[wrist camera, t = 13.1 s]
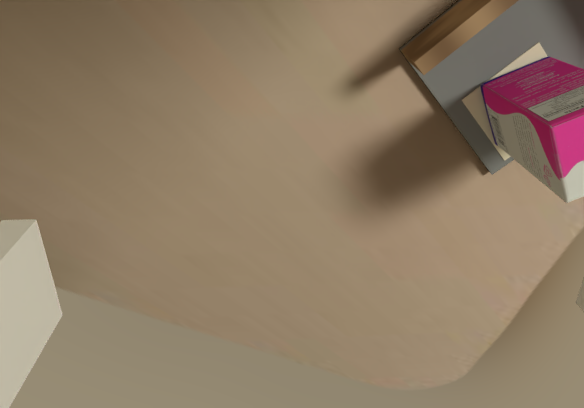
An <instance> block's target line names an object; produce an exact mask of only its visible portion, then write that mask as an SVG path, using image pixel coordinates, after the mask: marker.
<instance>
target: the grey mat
mask: <svg viewBox="0 0 584 408" xmlns="http://www.w3.org/2000/svg"><path fill="white" fill-rule="evenodd" d="M460 1H462V0H460ZM460 1H458V2H457V3H456V4H455V5H457V4H458V3H459V2H460ZM455 5H454V4H453V5H452V7H451V8H450V9H449V8H448V10H446V12H443V14H441V16H440V17H438V18H437V20H438V19H440V18H441V17H442V16H443V15H444V14H446V13H447V12H448V11H449V10H451V9H452V8H453V7H454V6H455ZM437 20H434V21H432V22H431V24H429V25H428V26H426V28H424V29H423V30H422V31H420V32H419V33H418V34H417V35H416V36H414V37H413V38H412V39H411V40H409V41H408V42H407V43H406V44H404V45H403V46H402V47H401V48H400V50H402V49H403V48H404V47H405V46H407V45H408V44H409V43H410V42H412V41H413V40H414V39H415V38H416V37H418V36H419V35H420V34H421V33H422V32H424V31H425V30H426V29H427V28H429V27H430V26H431V25H432V24H433V23H435V22H436V21H437ZM402 54H403V53H402ZM548 56H550V57H552V58H555V59H558V60H560V61H563V62H566V63H568V64H571V65H574V66H576V67H579V68H582V69H584V0H519V1H517V2H516V3H515V4H513V5H512V6H511V7H510V8H508V9H507V10H506V11H505V12H503V13H502V14H501V15H500V16H498V17H497V18H496V19H494V20H493V21H492V22H491V23H489V24H488V25H487V26H486V27H484V28H483V29H482V30H481V31H479V32H478V33H477V34H476V35H474V36H473V37H472V38H470V39H469V40H468V41H467V42H465V43H464V44H463V45H462V46H460V47H459V48H458V49H457V50H455V51H454V52H453V53H452V54H450V55H449V56H448V57H446V58H445V59H444V60H443V61H441V62H440V63H439V64H438V65H436V66H435V67H434V68H433V69H431V70H430V71H429V72H427V73H426V74H425V75H423V74H422V73H421V72H420V71H419V70H417V69H416V68H415V67H414V66H413V65H412V64H411V63H410V62H409V61H408V62H409V63H410V65H411V66H412V67H413V69H414V70H415V71H416V73H417V74H418V75H419V77H420V78H421V79H422V81H423V82H424V84H425V85H426V86H427V88H428V89H429V90H430V92H431V93H432V94H433V96H434V97H435V98H436V100H437V101H438V103H439V104H440V105H441V107H442V108H443V109H444V111H445V112H446V113H447V115H448V116H449V117H450V119H451V120H452V122H453V123H454V124H455V126H456V127H457V128H458V130H459V131H460V132H461V134H462V135H463V136H464V138H465V139H466V141H467V142H468V143H469V145H470V146H471V147H472V149H473V150H474V151H475V153H476V154H477V156H478V157H479V158H480V160H481V161H482V162H483V164H484V165H485V166H486V168H487V169H488V170H489V172H490V173H491V174H494V173H495V172H497V171H498V170H500V169H501V168H502V167H504V166H505V165H507V164H508V163H510V162H511V161H513V160H514V159H513V158H512V157H511V156H510V155H508V154H507V153H506V152H505V151H504V150H502V149H501V148H500V147H499V146H497V145H496V144H495V142H494V138H493V134H492V131H491V127H490V123H489V120H488V116H487V112H486V108H485V104H484V100H483V96H482V92H481V87H480V85H481V84H482V83H485V82H487V81H489V80H492V79H494V78H497V77H499V76H501V75H504V74H506V73H509V72H511V71H514V70H516V69H519V68H521V67H523V66H526V65H528V64H531V63H533V62H536V61H538V60H541V59H543V58H545V57H548Z"/></svg>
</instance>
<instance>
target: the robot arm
mask: <svg viewBox="0 0 584 408" xmlns="http://www.w3.org/2000/svg"><path fill="white" fill-rule="evenodd" d="M576 303H577V304H578V305H579V307H580V308H581V309H582V310H583V312H584V278H583V282H582V285H581V288H580V291H579V294H578V297H577V301H576ZM62 315H63V314H62V311H61V307H60V304H59V300H58V296H57V293H56V289H55V285H54V282H53V278H52V274H51V271H50V267H49V264H48V260H47V256H46V253H45V249H44V245H43V242H42V238H41V235H40V231H39V227H38V224H37V220H2V221H1V222H0V408H9V407H10V405H11V403H12V402H13V400H14V398H15V396H16V395H17V393H18V391H19V390H20V388H21V386H22V384H23V383H24V381H25V379H26V377H27V376H28V374H29V372H30V370H31V369H32V367H33V365H34V364H35V362H36V360H37V358H38V356H39V355H40V353H41V351H42V350H43V348H44V346H45V344H46V343H47V341H48V339H49V337H50V336H51V334H52V332H53V331H54V329H55V327H56V325H57V324H58V322H59V320H60V318H61V317H62Z"/></svg>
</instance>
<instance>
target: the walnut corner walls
mask: <svg viewBox="0 0 584 408" xmlns="http://www.w3.org/2000/svg"><path fill="white" fill-rule="evenodd" d="M458 1H460V0H458ZM458 1H457V2H458ZM517 1H519V0H462V1H460V2H459V3H458V4H457V5H455V4H456V3H457V2H456V3H454V5H455V6H454V7H453V8H452V9H451V10H449V11H448V12H447V13H446V14H444V15H443V16H442V17H441V18H440V19H438V20H437V18H438V17H437V18H436V19H435V20H437V21H436V22H435V23H433V24H432V25H431V26H430V27H429V28H427V29H426V30H425V31H424V32H422V33H421V34H420V35H419V36H418V37H416V38H415V39H414V40H413V41H412V42H410V43H409V44H408V45H407V46H405V47H404V48H403V49H402V50H400V49H399V50H400V51H401V52H402V53H403V55H404V56H405V58H406V59H407V60H408V61H409V62H410V63H411V64H412V65H413V66H414V67H415V68H416V69H417V70H419V71H420V72H421V73H422V74H423V75H425V74H426V73H427V72H429V71H430V70H431V69H433V68H434V67H435V66H436V65H438V64H439V63H440V62H441V61H443V60H444V59H445V58H446V57H448V56H449V55H450V54H452V53H453V52H454V51H455V50H457V49H458V48H459V47H460V46H462V45H463V44H464V43H465V42H467V41H468V40H469V39H470V38H472V37H473V36H474V35H476V34H477V33H478V32H479V31H481V30H482V29H483V28H484V27H486V26H487V25H488V24H489V23H491V22H492V21H493V20H494V19H496V18H497V17H498V16H500V15H501V14H502V13H503V12H505V11H506V10H507V9H508V8H510V7H511V6H512V5H513V4H515V3H516V2H517ZM451 7H452V6H451ZM451 7H449V9H450V8H451ZM447 10H448V9H447ZM445 12H446V11H445ZM442 14H443V13H442ZM440 16H441V15H440ZM440 16H439V17H440ZM430 24H431V23H430ZM425 28H426V27H425ZM421 31H422V30H421ZM415 36H416V35H415Z"/></svg>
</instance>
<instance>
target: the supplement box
mask: <svg viewBox="0 0 584 408" xmlns="http://www.w3.org/2000/svg"><path fill="white" fill-rule="evenodd" d="M480 87H481V92H482V96H483V100H484V104H485V108H486V112H487V116H488V120H489V123H490V127H491V131H492V134H493V138H494V142H495V144H496V145H497V146H499V147H500V148H501V149H502V150H504V151H505V152H506V153H507V154H508V155H510V156H511V157H512V158H513V159H515V160H516V161H517V162H518V163H519V164H520V165H522V166H523V167H524V168H525V169H526V170H528V171H529V172H530V173H531V174H532V175H534V176H535V177H536V178H537V179H538V180H539V181H541V182H542V183H543V184H545V185H546V186H547V187H548V188H549V189H550V190H552V191H553V192H554V193H555V194H556V195H558V196H559V197H560V198H561V199H562V200H564V201H565V202H567V203H568V202H571V201H573V200H576V199H578V198H580V197H583V196H584V69H582V68H579V67H576V66H574V65H571V64H568V63H566V62H563V61H560V60H558V59H555V58H552V57H550V56H548V57H545V58H543V59H541V60H538V61H536V62H533V63H531V64H528V65H526V66H523V67H521V68H519V69H516V70H514V71H511V72H509V73H506V74H504V75H501V76H499V77H497V78H494V79H492V80H489V81H487V82H485V83H482V84H481V85H480Z"/></svg>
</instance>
